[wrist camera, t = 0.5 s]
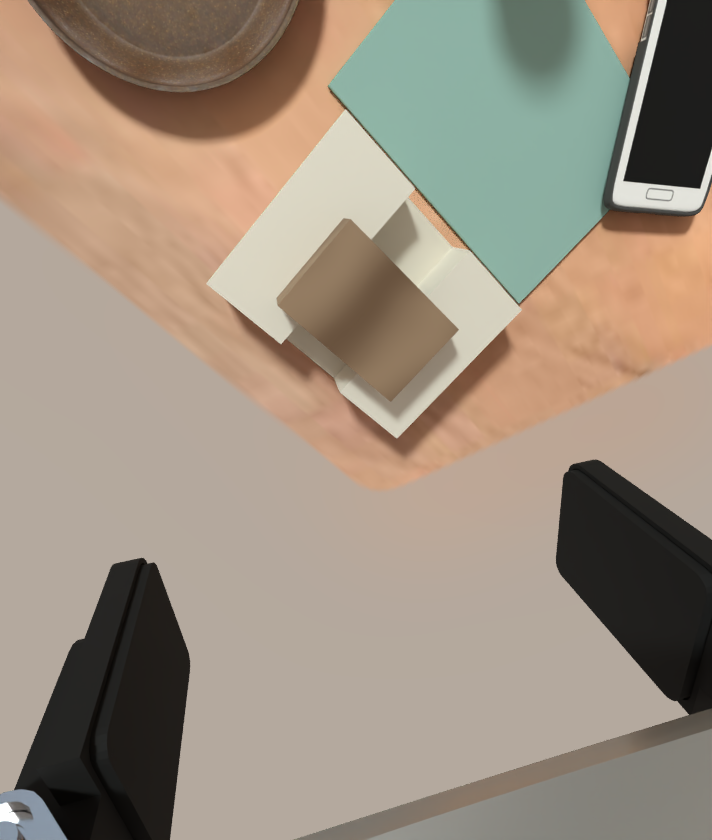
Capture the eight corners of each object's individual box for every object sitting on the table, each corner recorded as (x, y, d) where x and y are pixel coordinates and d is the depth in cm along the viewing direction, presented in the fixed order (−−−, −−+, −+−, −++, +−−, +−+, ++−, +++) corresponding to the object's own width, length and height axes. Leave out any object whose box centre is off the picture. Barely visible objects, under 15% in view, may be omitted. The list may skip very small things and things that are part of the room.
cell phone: (597, 209, 33) (606, 209, 32) (660, -66, 28) (674, -76, 27) (690, 217, 35) (701, 217, 34) (767, -42, 29) (783, -50, 28)
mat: (666, 148, 33) (669, 147, 33) (517, 302, 36) (519, 303, 35) (501, -136, 26) (503, -140, 25) (327, 86, 28) (328, 85, 28)
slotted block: (495, 299, 35) (521, 309, 32) (383, 416, 37) (396, 438, 34) (335, 121, 29) (345, 109, 25) (212, 275, 31) (206, 283, 28)
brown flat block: (445, 320, 31) (459, 329, 29) (381, 388, 32) (390, 402, 30) (343, 218, 27) (350, 219, 25) (276, 298, 29) (277, 305, 26)
